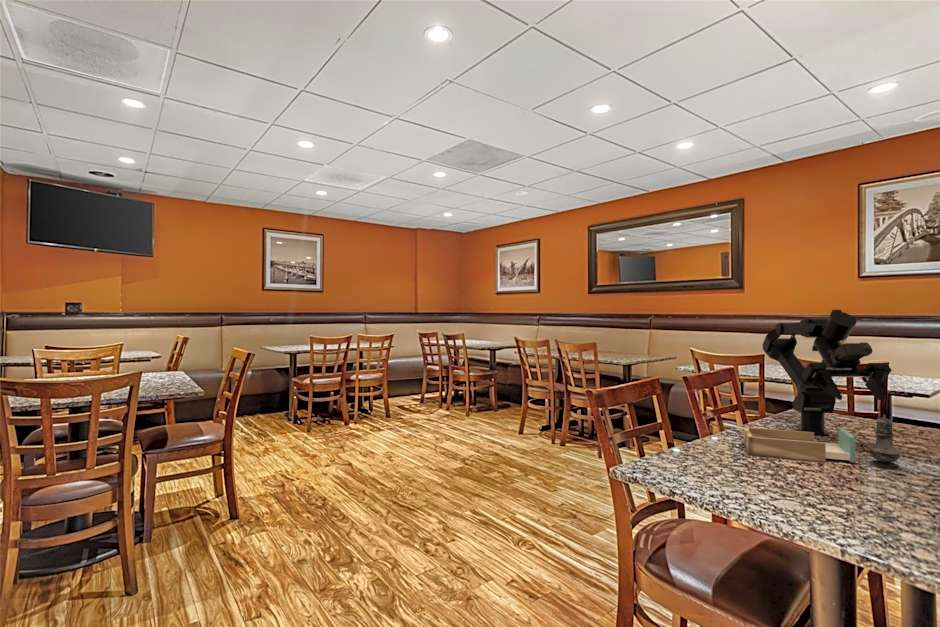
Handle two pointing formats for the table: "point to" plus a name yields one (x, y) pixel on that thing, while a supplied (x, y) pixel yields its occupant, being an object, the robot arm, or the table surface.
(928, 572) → the table surface
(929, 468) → the table surface
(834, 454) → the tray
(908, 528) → the table surface
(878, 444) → the grey tall tapered piece
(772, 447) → the dock
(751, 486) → the table surface
